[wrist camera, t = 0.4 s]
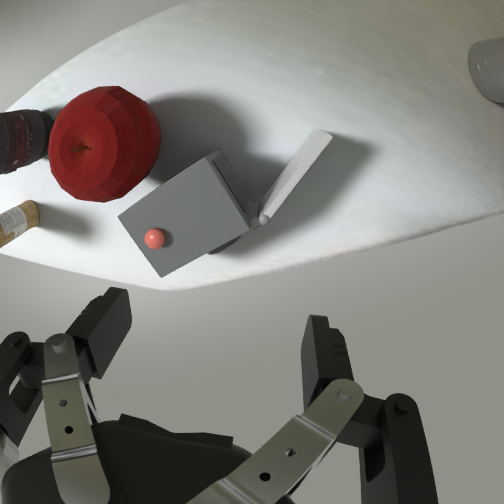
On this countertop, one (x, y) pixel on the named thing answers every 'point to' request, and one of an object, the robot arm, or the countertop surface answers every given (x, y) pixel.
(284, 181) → the side door
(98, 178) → the apple
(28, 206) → the sprinkles bottle
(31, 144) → the camera lens
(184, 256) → the grey box with button
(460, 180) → the countertop surface
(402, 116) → the countertop surface
